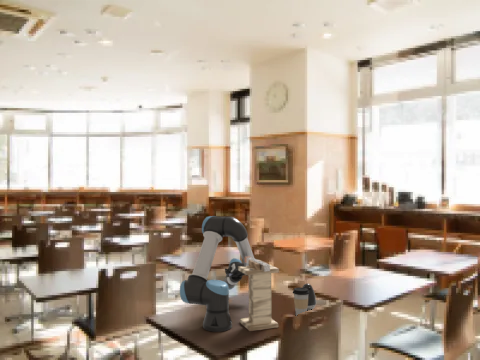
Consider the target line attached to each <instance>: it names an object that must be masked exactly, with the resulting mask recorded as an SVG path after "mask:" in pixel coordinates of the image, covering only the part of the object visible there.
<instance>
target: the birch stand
mask: <svg viewBox="0 0 480 360" xmlns="http://www.w3.org/2000/svg"><path fill="white" fill-rule="evenodd" d="M258 260H259V261H261V262H264V263H266V264H268V265H270V271H266V272H264V271H262V270H260V264H258V263H256V262H254V261H252V260H249V266H238V270H239V271H241V272H242V273H244V274H246V275H248V317H244V318H240V319H239V323H240V325H242V326H243V327H244V328H246V329H247V330H248V331H249V332H253V331H261V330H268V329H277V328H279V323H278V322H277V321H275V319H273V318H272V274H277V273H280V268H278V267H276V266H274V265H271V264H269V263H268V262H266V261H263V260H261V259H258ZM246 275H245V276H246Z"/></svg>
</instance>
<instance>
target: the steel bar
mask: <svg viewBox="0 0 480 360" xmlns="http://www.w3.org/2000/svg"><path fill="white" fill-rule="evenodd" d="M254 258H255V257H254ZM254 258H252V257H250V256H248V257H245V262H246V263H248V264H249V260H252V261H254V262H256V263H258V264H260V270H262V271H264V272H266V271H270V265H271V264H269V263H268V264H269V265H268V264H266V263H267V262H266V263H264V262H265V261H263V262H261V261H262V260H261V261H259V260H260V259H257V258H255V259H254Z"/></svg>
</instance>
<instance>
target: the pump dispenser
mask: <svg viewBox="0 0 480 360" xmlns="http://www.w3.org/2000/svg"><path fill="white" fill-rule="evenodd" d="M301 288H307V289H308V291H309V294H308V307H307V311H312V310H314V309H315V307H316V306H317V298H316V294H315V291H314V288H313V286H312V285H311V284H310V283H304V284H303V285H302V287H301ZM311 309H312V310H311Z"/></svg>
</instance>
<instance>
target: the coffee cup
mask: <svg viewBox="0 0 480 360" xmlns="http://www.w3.org/2000/svg"><path fill="white" fill-rule="evenodd" d="M292 294H293V300H294V301H293V302H294V309H295V316H296V317H297V315H298V314H300V313H302V312H305V311H308V310H307V307H308V294H309V291H308V289H307V288H302V287H295V288H293V290H292Z"/></svg>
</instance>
